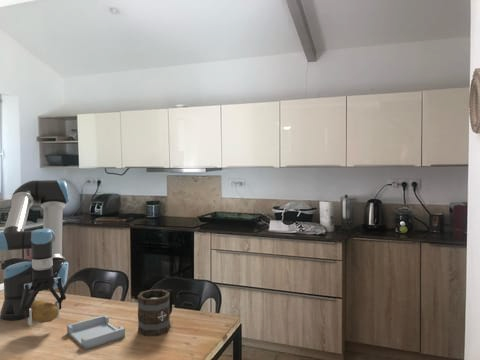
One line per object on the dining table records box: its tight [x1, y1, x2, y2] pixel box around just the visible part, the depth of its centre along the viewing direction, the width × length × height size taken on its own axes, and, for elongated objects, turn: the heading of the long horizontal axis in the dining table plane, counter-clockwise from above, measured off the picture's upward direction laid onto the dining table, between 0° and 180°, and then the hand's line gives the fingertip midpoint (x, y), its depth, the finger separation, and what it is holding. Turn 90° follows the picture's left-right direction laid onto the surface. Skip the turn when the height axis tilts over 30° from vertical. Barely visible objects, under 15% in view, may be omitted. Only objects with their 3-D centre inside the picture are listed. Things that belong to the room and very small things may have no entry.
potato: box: [30, 299, 60, 324], centre depth 161 cm, size 10×14×8 cm
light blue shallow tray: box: [66, 314, 126, 351], centre depth 158 cm, size 19×16×4 cm
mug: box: [137, 288, 174, 337], centre depth 166 cm, size 20×14×15 cm
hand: (44, 320), depth 161 cm, fingers closed on potato, 10 cm apart
